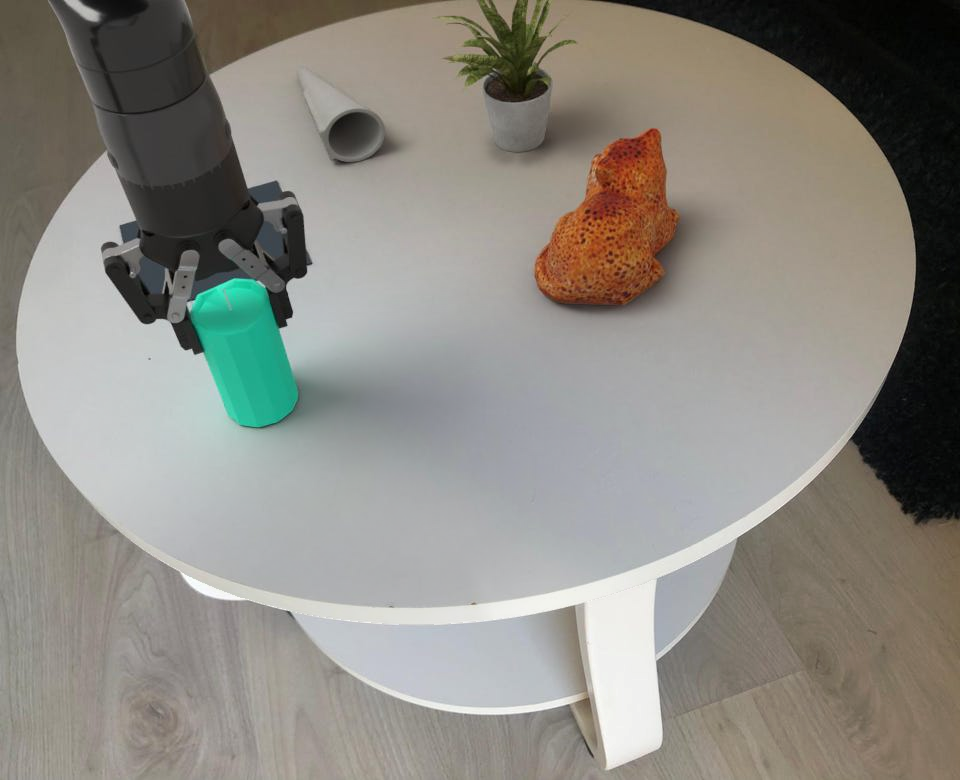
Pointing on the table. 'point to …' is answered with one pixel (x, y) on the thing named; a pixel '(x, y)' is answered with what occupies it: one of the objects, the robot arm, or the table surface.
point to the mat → (155, 273)
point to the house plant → (511, 74)
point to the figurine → (612, 229)
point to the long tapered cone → (341, 119)
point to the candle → (245, 352)
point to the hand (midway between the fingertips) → (238, 333)
